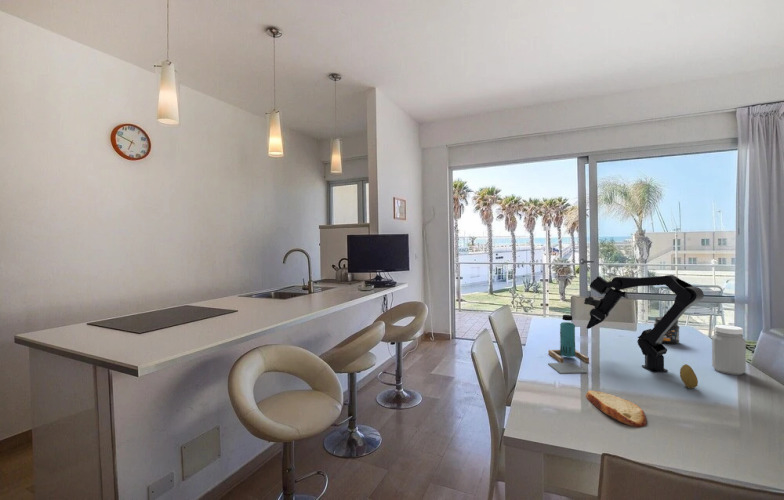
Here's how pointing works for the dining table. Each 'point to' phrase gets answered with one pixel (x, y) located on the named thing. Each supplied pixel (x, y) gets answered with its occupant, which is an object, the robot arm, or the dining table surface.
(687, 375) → the potato
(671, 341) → the supplement container
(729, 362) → the jar
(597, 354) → the dining table surface
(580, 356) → the frame
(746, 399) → the dining table surface
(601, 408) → the bread slice
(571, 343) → the beverage bottle
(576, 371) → the rubber mat
